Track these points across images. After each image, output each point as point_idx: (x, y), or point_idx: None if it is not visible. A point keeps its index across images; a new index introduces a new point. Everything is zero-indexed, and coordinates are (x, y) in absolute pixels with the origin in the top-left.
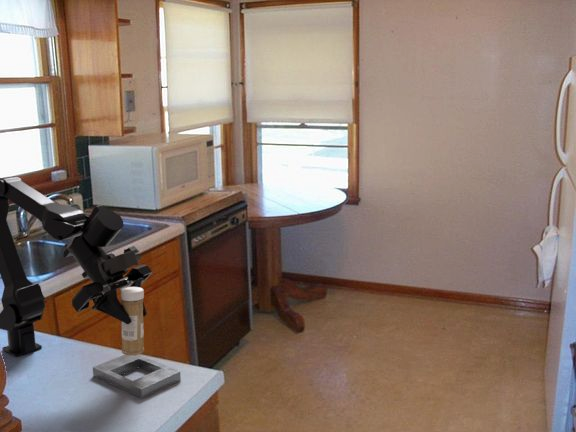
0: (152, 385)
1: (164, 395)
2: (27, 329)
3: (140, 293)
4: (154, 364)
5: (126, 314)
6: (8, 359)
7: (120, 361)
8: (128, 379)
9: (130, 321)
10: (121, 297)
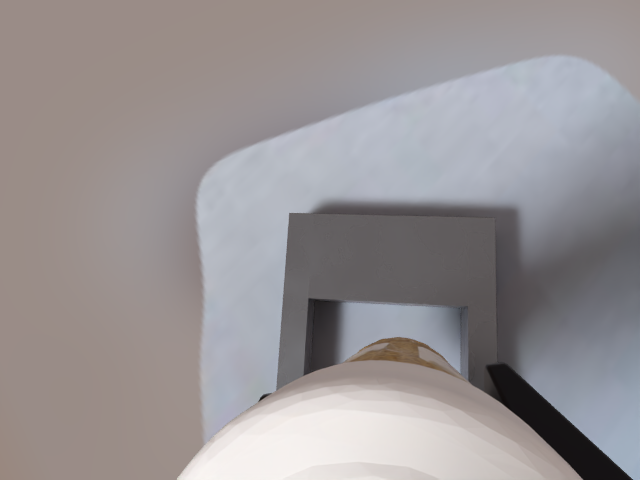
0: (435, 218)
1: (413, 183)
2: None
3: (353, 372)
4: (302, 352)
5: (542, 420)
6: None
7: None
8: (471, 333)
9: (502, 363)
10: None
